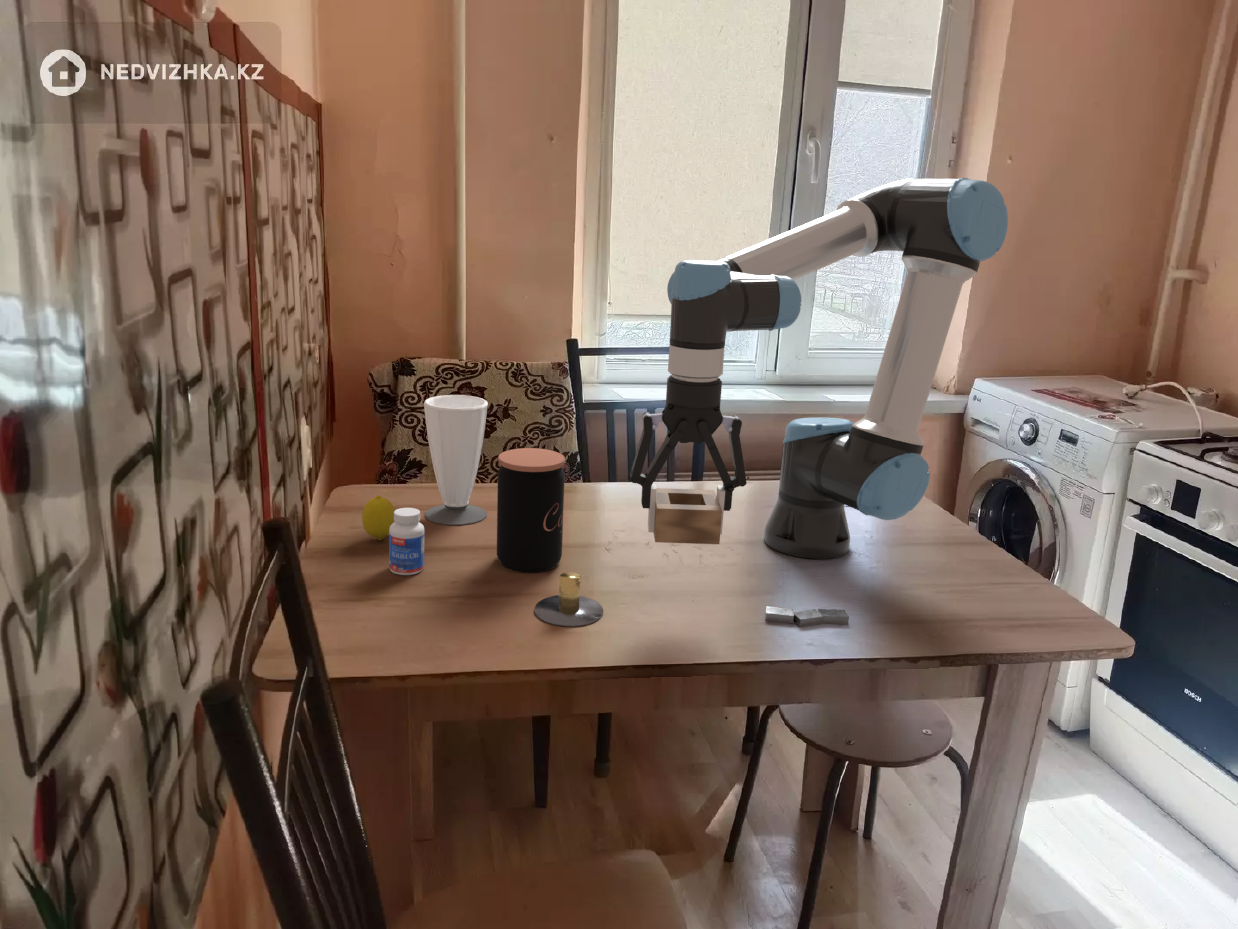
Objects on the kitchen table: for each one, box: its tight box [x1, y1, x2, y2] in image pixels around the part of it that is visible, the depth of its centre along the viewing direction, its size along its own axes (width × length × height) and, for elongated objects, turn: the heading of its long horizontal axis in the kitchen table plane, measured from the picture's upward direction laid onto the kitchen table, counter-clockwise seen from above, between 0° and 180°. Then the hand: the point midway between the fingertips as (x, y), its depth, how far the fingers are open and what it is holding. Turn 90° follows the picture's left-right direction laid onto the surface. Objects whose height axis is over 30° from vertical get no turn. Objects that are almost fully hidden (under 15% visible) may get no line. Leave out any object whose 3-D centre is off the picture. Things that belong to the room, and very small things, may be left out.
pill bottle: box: [388, 507, 425, 576], centre depth 144 cm, size 6×5×10 cm
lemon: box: [361, 495, 396, 541], centre depth 155 cm, size 6×6×8 cm
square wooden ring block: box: [653, 487, 722, 545], centre depth 131 cm, size 9×9×5 cm
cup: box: [423, 394, 489, 526], centre depth 167 cm, size 12×12×22 cm
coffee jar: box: [496, 447, 566, 574], centre depth 148 cm, size 11×11×18 cm
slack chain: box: [764, 605, 850, 628], centre depth 134 cm, size 12×4×1 cm, turn 92°
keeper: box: [534, 571, 604, 628], centre depth 133 cm, size 10×10×6 cm
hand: (684, 529), depth 132 cm, fingers closed on square wooden ring block, 9 cm apart
